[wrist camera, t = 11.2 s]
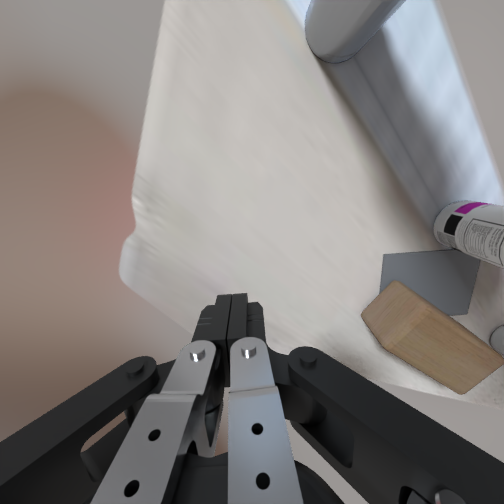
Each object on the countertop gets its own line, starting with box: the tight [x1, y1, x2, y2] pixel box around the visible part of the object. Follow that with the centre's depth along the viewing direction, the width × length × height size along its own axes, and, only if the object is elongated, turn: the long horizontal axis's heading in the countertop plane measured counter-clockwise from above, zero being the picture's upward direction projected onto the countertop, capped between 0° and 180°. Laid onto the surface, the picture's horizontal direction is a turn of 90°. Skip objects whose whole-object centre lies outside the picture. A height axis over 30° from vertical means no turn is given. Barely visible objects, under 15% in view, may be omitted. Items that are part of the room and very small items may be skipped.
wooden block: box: [361, 280, 504, 395], centre depth 45 cm, size 10×10×20 cm
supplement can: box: [434, 200, 504, 269], centre depth 37 cm, size 8×8×15 cm
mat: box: [379, 249, 480, 315], centre depth 48 cm, size 14×18×1 cm
